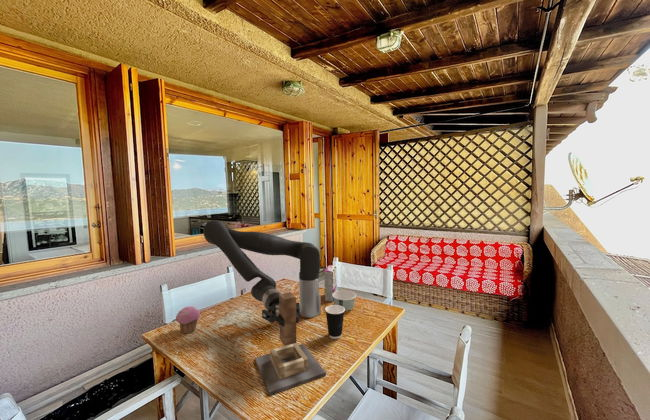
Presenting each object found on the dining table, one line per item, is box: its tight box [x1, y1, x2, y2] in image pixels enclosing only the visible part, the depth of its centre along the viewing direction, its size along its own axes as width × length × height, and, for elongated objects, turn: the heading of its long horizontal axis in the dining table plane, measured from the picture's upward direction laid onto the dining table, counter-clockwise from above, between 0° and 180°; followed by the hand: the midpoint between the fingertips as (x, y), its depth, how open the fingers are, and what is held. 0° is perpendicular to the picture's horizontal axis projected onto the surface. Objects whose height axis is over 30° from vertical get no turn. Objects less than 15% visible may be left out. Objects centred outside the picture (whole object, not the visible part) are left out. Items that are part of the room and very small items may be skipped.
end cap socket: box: [254, 343, 327, 397], centre depth 88 cm, size 18×18×4 cm
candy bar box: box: [323, 264, 338, 303], centre depth 146 cm, size 11×5×16 cm, turn 168°
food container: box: [332, 290, 357, 312], centre depth 134 cm, size 12×12×6 cm
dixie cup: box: [324, 304, 345, 340], centre depth 107 cm, size 8×8×11 cm
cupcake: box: [175, 305, 201, 334], centre depth 112 cm, size 9×9×10 cm
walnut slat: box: [278, 291, 298, 346], centre depth 87 cm, size 4×5×15 cm
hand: (290, 321), depth 85 cm, fingers closed on walnut slat, 4 cm apart
